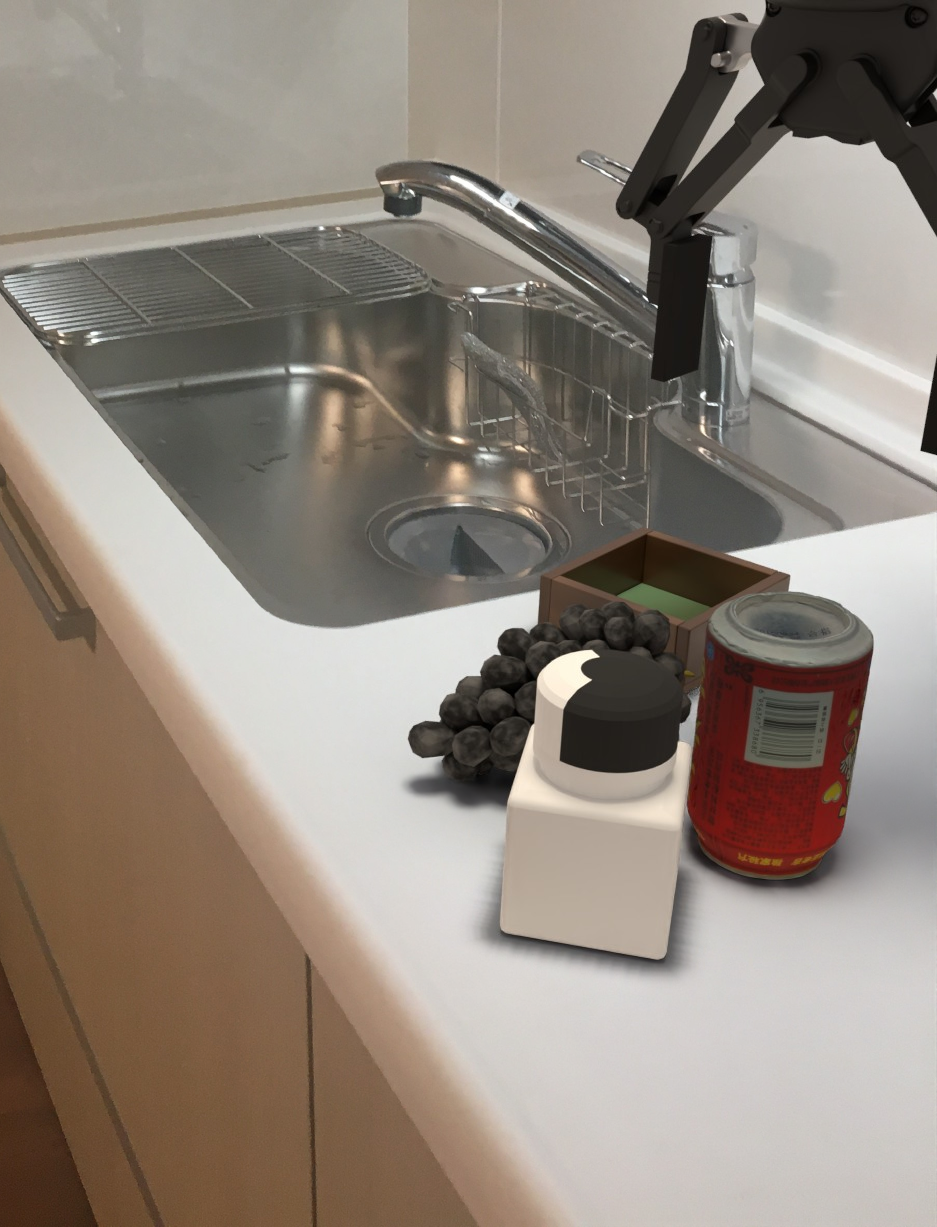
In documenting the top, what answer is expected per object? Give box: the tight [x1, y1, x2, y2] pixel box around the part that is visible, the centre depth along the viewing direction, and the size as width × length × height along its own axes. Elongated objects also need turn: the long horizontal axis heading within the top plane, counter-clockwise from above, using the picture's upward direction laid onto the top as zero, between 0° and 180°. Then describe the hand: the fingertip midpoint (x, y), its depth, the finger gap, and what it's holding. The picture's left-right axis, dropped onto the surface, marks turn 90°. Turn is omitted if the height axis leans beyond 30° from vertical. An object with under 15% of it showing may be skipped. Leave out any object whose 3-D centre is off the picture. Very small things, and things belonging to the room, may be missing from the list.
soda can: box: [686, 590, 875, 881], centre depth 77 cm, size 7×7×12 cm
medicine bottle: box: [499, 649, 693, 961], centre depth 74 cm, size 7×7×12 cm
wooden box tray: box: [537, 526, 791, 694], centre depth 98 cm, size 10×10×4 cm
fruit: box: [407, 601, 696, 784], centre depth 86 cm, size 9×8×15 cm
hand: (801, 408), depth 76 cm, fingers open, 13 cm apart
